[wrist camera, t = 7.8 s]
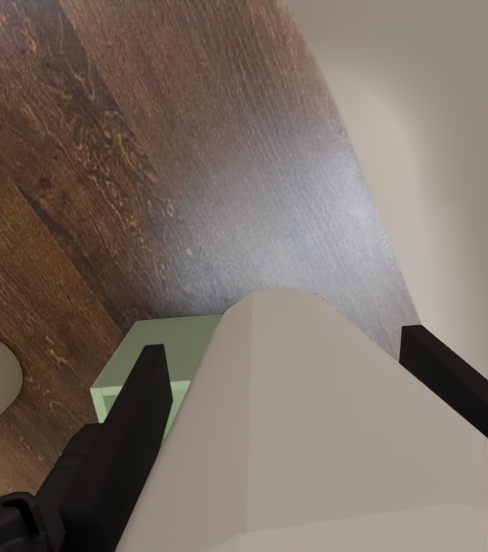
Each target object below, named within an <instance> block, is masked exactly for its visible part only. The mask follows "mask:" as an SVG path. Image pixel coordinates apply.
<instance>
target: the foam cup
mask: <svg viewBox="0 0 488 552" xmlns="http://www.w3.org/2000/svg"><path fill="white" fill-rule="evenodd" d="M115 552H488V438H487V437H486V436H484V435H483V434H482V433H481V432H480V431H478V430H477V429H476V428H475V427H474V426H473V425H471V424H470V423H469V422H468V421H467V420H465V419H464V418H463V417H462V416H461V415H460V414H458V413H457V412H456V411H455V410H454V409H452V408H451V407H450V406H449V405H448V404H447V403H445V402H444V401H443V400H442V399H441V398H440V397H438V396H437V395H436V394H435V393H434V392H432V391H431V390H430V389H429V388H428V387H427V386H425V385H424V384H423V383H422V382H421V381H419V380H418V379H417V378H416V377H415V376H414V375H412V374H411V373H410V372H409V371H408V370H406V369H405V368H404V367H403V366H402V365H401V364H399V363H398V362H397V361H396V360H395V359H393V358H392V357H391V356H390V355H389V354H388V353H386V352H385V351H384V350H383V349H382V348H380V347H379V346H378V345H377V344H376V343H375V342H373V341H372V340H371V339H370V338H369V337H367V336H366V335H365V334H364V333H363V332H362V331H360V330H359V329H358V328H357V327H356V326H354V325H353V324H352V323H351V322H350V321H349V320H347V319H346V318H345V317H344V316H343V315H341V314H340V313H339V312H338V311H337V310H336V309H334V308H333V307H332V306H331V305H330V304H328V303H327V302H326V301H325V300H324V299H323V298H321V297H320V296H318V295H317V294H314V293H310V292H306V291H302V290H299V289H295V288H291V287H287V286H284V287H278V288H272V289H267V290H261V291H255V292H252V293H251V294H249V295H248V296H246V297H245V298H243V299H242V300H240V301H239V302H237V303H236V304H234V305H233V306H231V307H230V308H229V309H227V310H226V311H225V313H224V315H223V317H222V319H221V320H220V322H219V324H218V326H217V327H216V329H215V331H214V333H213V334H212V337H211V339H210V340H209V342H208V344H207V347H206V349H205V351H204V353H203V356H202V358H201V360H200V362H199V364H198V367H197V369H196V371H195V373H194V376H193V378H192V380H191V382H190V385H189V387H188V389H187V391H186V394H185V396H184V398H183V400H182V402H181V405H180V407H179V409H178V411H177V414H176V416H175V418H174V420H173V423H172V425H171V427H170V429H169V431H168V434H167V436H166V438H165V440H164V443H163V445H162V447H161V449H160V452H159V454H158V456H157V458H156V461H155V463H154V465H153V467H152V469H151V472H150V474H149V476H148V478H147V481H146V483H145V485H144V487H143V490H142V492H141V494H140V496H139V499H138V501H137V503H136V505H135V507H134V510H133V512H132V514H131V516H130V519H129V521H128V523H127V525H126V528H125V530H124V532H123V534H122V537H121V539H120V541H119V543H118V545H117V548H116V550H115Z"/></svg>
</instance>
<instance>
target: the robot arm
mask: <svg viewBox="0 0 488 552" xmlns="http://www.w3.org/2000/svg"><path fill="white" fill-rule="evenodd" d="M399 364H401V365H402V366H403V367H404V368H405V369H406V370H408V371H409V372H410V373H411V374H412V375H414V376H415V377H416V378H417V379H418V380H419V381H421V382H422V383H423V384H424V385H425V386H427V387H428V388H429V389H430V390H431V391H432V392H434V393H435V394H436V395H437V396H438V397H440V398H441V399H442V400H443V401H444V402H445V403H447V404H448V405H449V406H450V407H451V408H452V409H454V410H455V411H456V412H457V413H458V414H460V415H461V416H462V417H463V418H464V419H465V420H467V421H468V422H469V423H470V424H471V425H473V426H474V427H475V428H476V429H477V430H478V431H480V432H481V433H482V434H483V435H484V436H486V437H487V438H488V380H487V379H486V378H484V377H483V376H482V375H481V374H480V373H478V372H477V371H476V370H475V369H474V368H472V367H471V366H470V365H469V364H468V363H467V362H465V361H464V360H463V359H462V358H460V357H459V356H458V355H457V354H456V353H455V352H453V351H452V350H451V349H450V348H449V347H447V346H446V345H445V344H444V343H443V342H441V341H440V340H439V339H438V338H437V337H435V336H434V335H433V334H432V333H431V332H429V331H428V330H427V329H426V328H425V327H423V326H422V325H411V326H402V334H401V346H400V358H399ZM172 404H173V395H172V389H171V383H170V377H169V371H168V365H167V359H166V353H165V347H164V344H153V345H145V346H144V348H143V349H142V351H141V353H140V355H139V357H138V359H137V361H136V363H135V364H134V366H133V368H132V370H131V372H130V374H129V376H128V377H127V379H126V381H125V383H124V385H123V387H122V389H121V390H120V392H119V394H118V396H117V398H116V400H115V402H114V403H113V405H112V407H111V409H110V411H109V413H108V415H107V417H106V418H105V420H104V422H103V423H94V424H86V425H85V426H84V427H83V428H81V429H80V430H79V431H78V432H77V433H76V434H75V435H74V436H73V437H72V438H71V439H70V441H69V442H68V444H67V446H66V447H65V449H64V450H63V452H62V456H60V457H59V458H58V460H57V462H56V463H55V465H54V469H52V470H51V471H50V473H49V474H48V476H47V478H46V479H45V481H44V482H43V484H42V486H41V487H40V489H39V490H38V492H37V494H36V495H35V496H33V495H32V494H30V493H28V492H14V493H10V494H7V495H4V496H1V497H0V552H115V550H116V548H117V545H118V543H119V541H120V539H121V537H122V534H123V532H124V530H125V528H126V525H127V523H128V521H129V519H130V516H131V514H132V512H133V510H134V507H135V505H136V503H137V501H138V499H139V496H140V494H141V492H142V490H143V487H144V485H145V483H146V481H147V478H148V476H149V474H150V472H151V469H152V467H153V465H154V463H155V461H156V458H157V456H158V454H159V450H160V447H161V443H162V439H163V436H164V432H165V429H166V425H167V422H168V418H169V415H170V411H171V408H172Z"/></svg>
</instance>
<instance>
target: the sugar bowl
mask: <svg viewBox="0 0 488 552" xmlns="http://www.w3.org/2000/svg"><path fill="white" fill-rule="evenodd" d="M22 383H23V374H22V369H21V366H20V363H19V361H18V360H17V358H16V356H15V355H14V354H13V352H12V351H11V350H10V349H9V348H8V347H7V346H6V345H5V344H4V343H2V342H1V341H0V415H1V414H2V412H3V411H4V410H5V409H6V408H7V407H8V406H9V405H10V404H11V403H12V402H13V401H14V400H15V398H16V397H17V396H18V394H19V392H20V390H21V388H22Z"/></svg>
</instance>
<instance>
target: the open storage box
mask: <svg viewBox="0 0 488 552" xmlns="http://www.w3.org/2000/svg"><path fill="white" fill-rule="evenodd" d="M223 315H224V314H213V315H200V316H188V317H176V318H164V319H152V320H140V321H136V322H135V323H134V325H133V326H132V328H131V329H130V331H129V332H128V334H127V335H126V337H125V338H124V339H123V341H122V342H121V344H120V345H119V347H118V348H117V350H116V351H115V353H114V354H113V356H112V357H111V359H110V360H109V361H108V363H107V364H106V366H105V367H104V369H103V370H102V372H101V373H100V375H99V376H98V378H97V379H96V381H95V382H94V383H93V385H92V386H91V388H90V391H91V394H92V398H93V402H94V405H95V409H96V413H97V417H98V420H99V423H103V422H104V420H105V418H106V417H107V415H108V413H109V411H110V409H111V407H112V405H113V403H114V402H115V400H116V398H117V396H118V394H119V392H120V390H121V389H122V387H123V385H124V383H125V381H126V379H127V377H128V376H129V374H130V372H131V370H132V368H133V366H134V364H135V363H136V361H137V359H138V357H139V355H140V353H141V351H142V349H143V348H144V346H145V345H153V344H164V347H165V353H166V359H167V365H168V371H169V377H170V383H171V389H172V395H173V404H172V408H171V411H170V415H169V418H168V422H167V425H166V429H165V432H164V436H163V439H162V443H161V447H162V445H163V443H164V440H165V438H166V436H167V434H168V431H169V429H170V427H171V425H172V423H173V420H174V418H175V416H176V414H177V411H178V409H179V407H180V405H181V402H182V400H183V398H184V396H185V394H186V391H187V389H188V387H189V385H190V382H191V380H192V378H193V376H194V373H195V371H196V369H197V367H198V364H199V362H200V360H201V358H202V356H203V353H204V351H205V349H206V347H207V344H208V342H209V340H210V339H211V337H212V334H213V333H214V331H215V329H216V327H217V326H218V324H219V322H220V320H221V319H222V317H223ZM161 447H160V449H161ZM159 452H160V450H159Z"/></svg>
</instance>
